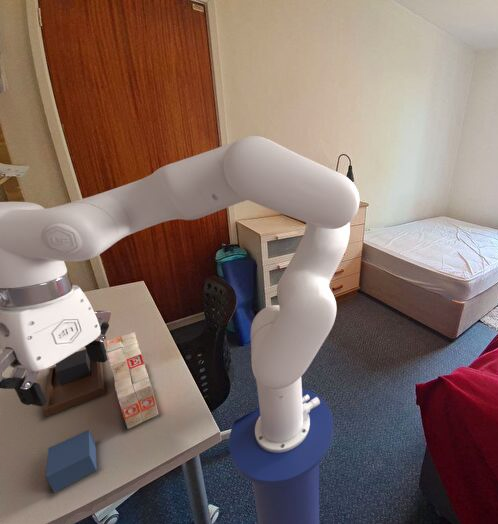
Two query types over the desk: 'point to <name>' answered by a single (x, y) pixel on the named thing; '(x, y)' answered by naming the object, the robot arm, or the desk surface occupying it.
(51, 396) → the pad tray
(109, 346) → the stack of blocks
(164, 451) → the desk surface
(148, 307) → the desk surface
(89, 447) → the blue block
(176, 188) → the robot arm
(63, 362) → the seated pad
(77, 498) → the desk surface
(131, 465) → the desk surface
